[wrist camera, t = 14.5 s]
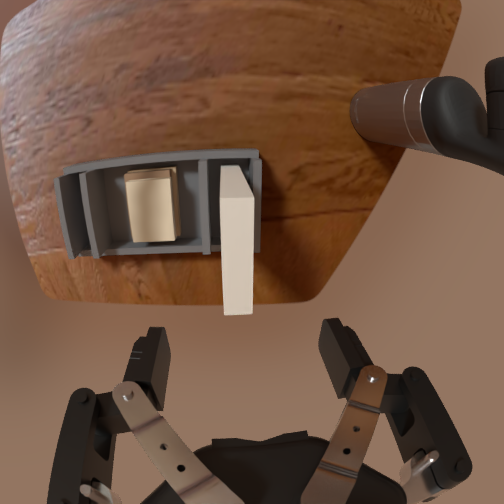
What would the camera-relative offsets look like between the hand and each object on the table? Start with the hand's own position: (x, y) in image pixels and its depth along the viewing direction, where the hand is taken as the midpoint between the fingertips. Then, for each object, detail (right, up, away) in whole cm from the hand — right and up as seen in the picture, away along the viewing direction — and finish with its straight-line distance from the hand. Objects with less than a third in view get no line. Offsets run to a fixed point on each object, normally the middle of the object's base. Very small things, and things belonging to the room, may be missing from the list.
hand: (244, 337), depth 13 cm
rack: (-13, +12, +26) cm, 31 cm away
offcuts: (-14, +12, +25) cm, 30 cm away
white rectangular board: (-3, +12, +26) cm, 29 cm away
